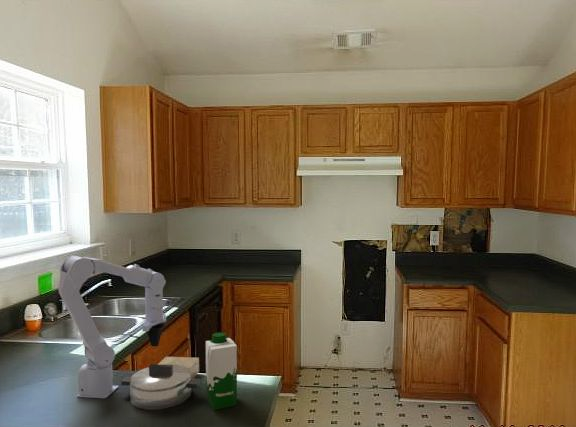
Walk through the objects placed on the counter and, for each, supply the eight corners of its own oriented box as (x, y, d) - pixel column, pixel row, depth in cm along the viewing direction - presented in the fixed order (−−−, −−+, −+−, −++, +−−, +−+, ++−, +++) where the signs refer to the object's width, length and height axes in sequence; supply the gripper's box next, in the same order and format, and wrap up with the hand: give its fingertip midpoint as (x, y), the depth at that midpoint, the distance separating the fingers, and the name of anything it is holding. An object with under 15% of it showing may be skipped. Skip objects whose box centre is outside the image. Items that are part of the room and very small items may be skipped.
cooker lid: (119, 390, 124) (119, 376, 124) (146, 366, 142) (146, 354, 141) (178, 392, 122) (177, 378, 122) (197, 368, 140) (197, 356, 139)
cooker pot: (109, 407, 124) (109, 390, 124) (150, 369, 152) (149, 356, 152) (189, 411, 122) (188, 394, 122) (215, 372, 149) (215, 358, 149)
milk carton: (231, 393, 133) (231, 330, 132) (240, 406, 124) (239, 338, 124) (203, 399, 129) (202, 334, 129) (210, 412, 121) (209, 343, 120)
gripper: (156, 312, 138) (157, 353, 139) (173, 301, 153) (174, 339, 153) (135, 312, 139) (136, 353, 140) (154, 301, 154) (155, 338, 154)
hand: (154, 345), depth 146 cm, fingers closed
